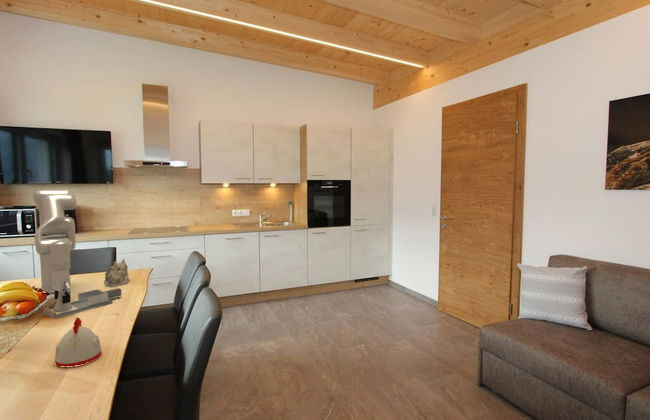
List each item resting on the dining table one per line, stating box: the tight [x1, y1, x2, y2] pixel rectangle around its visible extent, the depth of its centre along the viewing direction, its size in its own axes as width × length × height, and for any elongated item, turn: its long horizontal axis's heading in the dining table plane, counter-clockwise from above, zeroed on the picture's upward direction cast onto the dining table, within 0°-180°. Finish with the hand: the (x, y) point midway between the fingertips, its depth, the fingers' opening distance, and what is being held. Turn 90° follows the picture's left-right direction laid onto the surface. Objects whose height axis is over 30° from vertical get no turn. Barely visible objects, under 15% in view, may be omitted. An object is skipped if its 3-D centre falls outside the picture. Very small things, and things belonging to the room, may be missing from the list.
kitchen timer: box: [54, 317, 102, 367], centre depth 129 cm, size 14×14×15 cm
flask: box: [53, 291, 72, 312], centre depth 172 cm, size 7×7×10 cm
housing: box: [77, 287, 122, 306], centre depth 187 cm, size 12×18×4 cm, turn 145°
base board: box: [42, 299, 114, 319], centre depth 178 cm, size 13×26×2 cm, turn 145°
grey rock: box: [103, 258, 131, 288], centre depth 219 cm, size 16×16×15 cm
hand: (62, 300), depth 172 cm, fingers open, 9 cm apart
